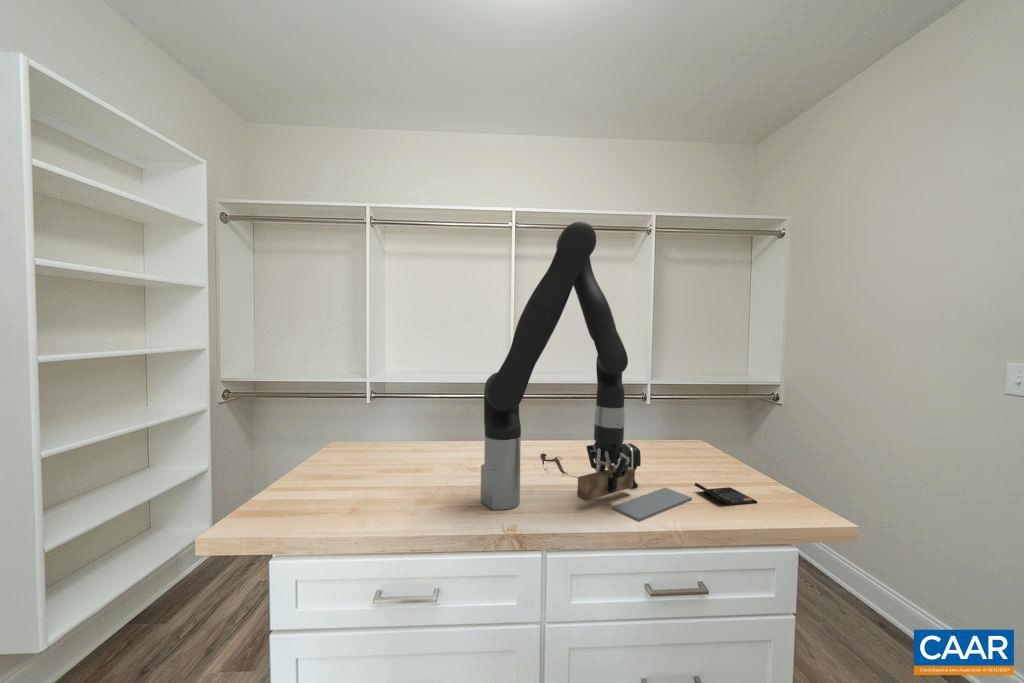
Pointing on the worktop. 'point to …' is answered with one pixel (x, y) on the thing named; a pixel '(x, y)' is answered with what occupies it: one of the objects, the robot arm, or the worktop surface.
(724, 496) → the calculator
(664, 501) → the mat
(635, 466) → the black striped rounded block
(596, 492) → the wooden block
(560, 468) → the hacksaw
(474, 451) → the worktop surface
